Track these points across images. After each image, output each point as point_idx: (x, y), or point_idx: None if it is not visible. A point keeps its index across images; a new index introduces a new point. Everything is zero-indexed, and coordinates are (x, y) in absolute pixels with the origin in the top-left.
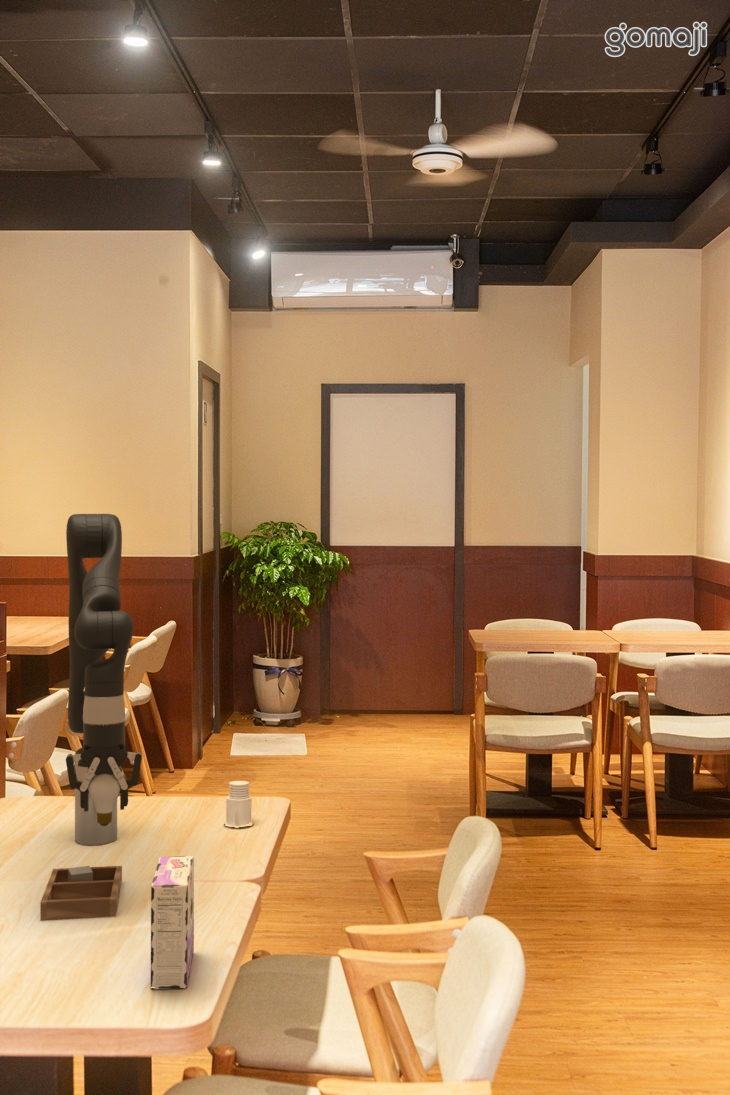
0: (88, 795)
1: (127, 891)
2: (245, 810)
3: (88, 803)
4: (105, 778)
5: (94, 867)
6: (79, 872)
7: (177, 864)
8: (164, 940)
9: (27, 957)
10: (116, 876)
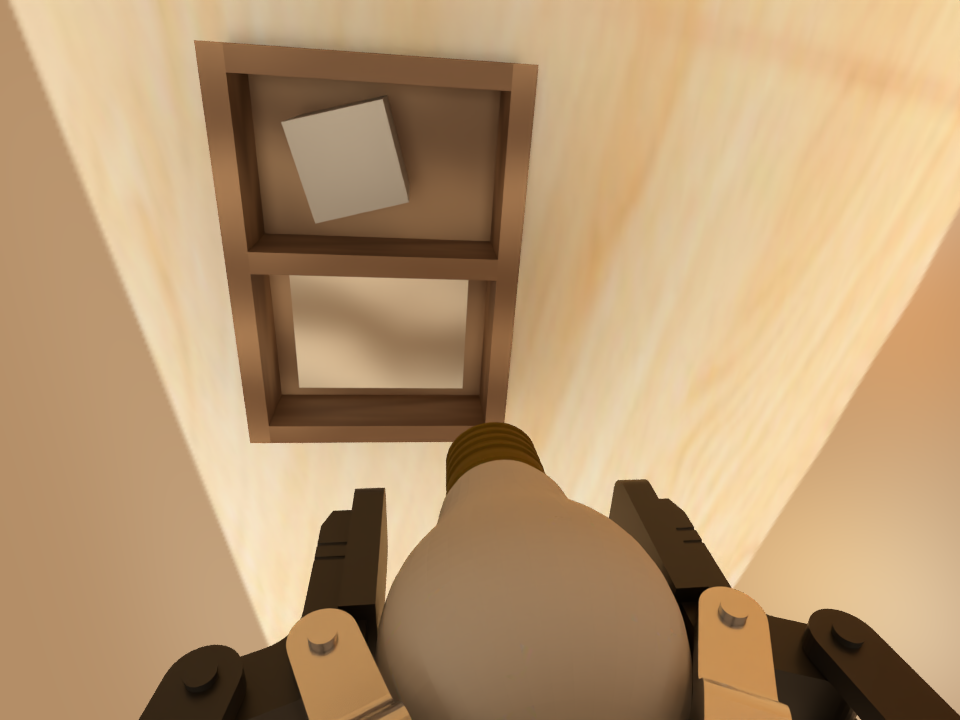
0: (380, 589)
1: (540, 139)
2: None
3: (383, 534)
4: None
5: (406, 64)
6: (347, 195)
7: None
8: None
9: (285, 577)
10: (509, 219)
